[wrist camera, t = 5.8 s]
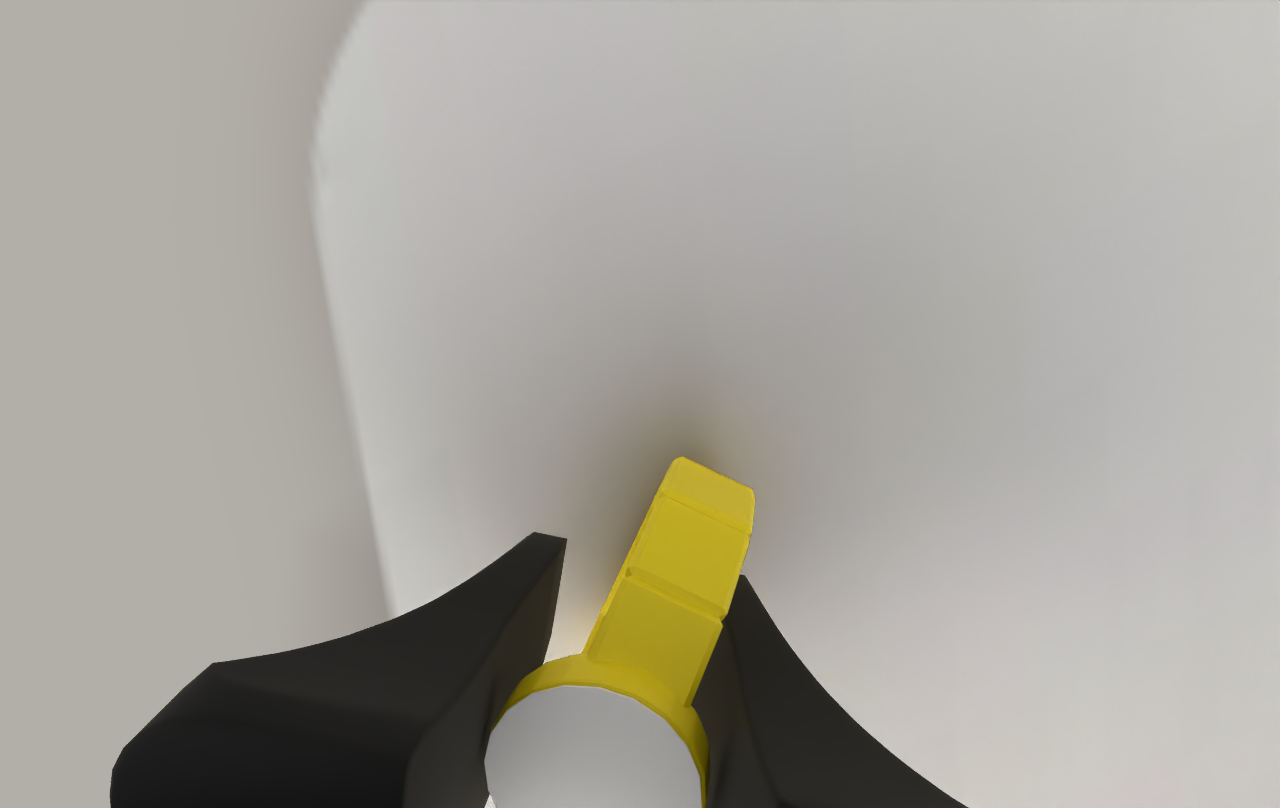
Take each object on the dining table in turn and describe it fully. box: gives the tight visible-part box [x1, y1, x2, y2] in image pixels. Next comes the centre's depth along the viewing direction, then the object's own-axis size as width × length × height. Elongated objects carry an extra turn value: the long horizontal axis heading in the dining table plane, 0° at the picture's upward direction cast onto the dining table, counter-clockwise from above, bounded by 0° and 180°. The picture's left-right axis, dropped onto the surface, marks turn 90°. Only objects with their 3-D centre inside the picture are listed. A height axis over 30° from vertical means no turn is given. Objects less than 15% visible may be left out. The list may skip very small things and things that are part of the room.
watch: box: [484, 456, 755, 808], centre depth 12 cm, size 6×3×6 cm, turn 157°
